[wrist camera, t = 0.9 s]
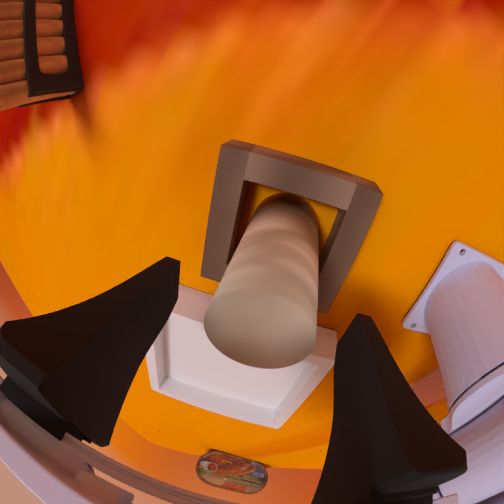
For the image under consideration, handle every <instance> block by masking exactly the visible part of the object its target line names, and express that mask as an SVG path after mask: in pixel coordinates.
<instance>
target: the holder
mask: <svg viewBox="0 0 504 504" xmlns="http://www.w3.org/2000/svg"><path fill="white" fill-rule="evenodd" d="M249 181H251V182H255V183H258V184H262V185H265V186H269V187H273V188H276V189H280V190H283V191H286V192H290V193H293V194H296V195H300V196H303V197H306V198H309V199H313V200H316V201H319V202H322V203H325V204H328V205H331V206H334V207H337V208H339V210H338V213H337V216H336V218H335V221H334V223H333V226H332V228H331V231H330V233H329V236H328V238H327V241H326V243H325V246H324V248H323V251H322V253H321V256H320V258H319V261H318V308H317V311H319V312H322V313H327V312H328V310H329V308H330V306H331V304H332V302H333V300H334V299H335V297H336V295H337V293H338V291H339V289H340V287H341V285H342V283H343V281H344V279H345V277H346V276H347V274H348V272H349V270H350V268H351V265H352V263H353V261H354V259H355V257H356V255H357V253H358V251H359V249H360V247H361V245H362V242H363V240H364V238H365V236H366V234H367V232H368V229H369V227H370V225H371V223H372V220H373V218H374V216H375V213H376V211H377V209H378V206H379V204H380V201H381V199H382V197H383V193H382V192H381V190H380V189H379V187H378V186H377V184H376V183H375V182H372V181H369V180H367V179H364V178H361V177H359V176H356V175H353V174H350V173H348V172H345V171H342V170H339V169H336V168H333V167H330V166H327V165H324V164H321V163H318V162H314V161H311V160H308V159H305V158H301V157H298V156H295V155H291V154H288V153H284V152H280V151H277V150H273V149H269V148H265V147H262V146H258V145H254V144H249V143H245V142H241V141H237V140H230V141H228V142H226V143H224V144H222V145H221V148H220V153H219V159H218V164H217V170H216V176H215V182H214V188H213V194H212V200H211V206H210V212H209V219H208V226H207V232H206V239H205V246H204V254H203V261H202V269H201V276H202V277H205V278H208V279H211V280H214V281H217V282H221V280H222V278H223V276H224V274H225V272H226V269H227V267H228V265H229V263H230V261H231V259H232V257H233V255H234V253H235V251H236V248H235V243H236V239H237V234H238V229H239V225H240V220H241V216H242V211H243V207H244V202H245V198H246V193H247V189H248V184H249Z"/></svg>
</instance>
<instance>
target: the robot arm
mask: <svg viewBox="0 0 504 504" xmlns="http://www.w3.org/2000/svg"><path fill="white" fill-rule="evenodd" d="M462 249H463V251H462V252H460V251H461V250H462ZM179 275H180V261H179V260H176V259H173V258H170V257H165V258H163V259H161V260H160V261H158V262H156V263H155V264H153V265H151V266H150V267H148V268H146V269H145V270H143V271H141V272H140V273H138V274H136V275H135V276H133V277H131V278H130V279H128V280H126V281H124V282H123V283H121V284H119V285H117V286H115V287H113V288H112V289H110V290H108V291H106V292H104V293H102V294H100V295H98V296H95V297H93V298H91V299H88V300H86V301H84V302H81V303H79V304H76V305H73V306H70V307H67V308H64V309H62V310H59V311H55V312H52V313H48V314H44V315H40V316H36V317H31V318H26V319H20V320H13V321H6V322H5V323H4V324H3V325H2V326H1V328H0V367H1V368H2V369H3V371H4V372H5V373H6V374H7V377H6V378H5V380H4V379H3V378H2V377H1V376H0V459H1V460H2V461H3V463H4V464H5V465H6V466H7V467H8V468H9V469H10V470H11V471H12V473H13V474H14V475H15V476H16V477H17V478H18V479H19V480H20V481H21V482H22V483H23V484H24V485H25V486H26V487H27V488H28V489H29V490H30V491H31V492H32V493H34V494H35V495H36V496H37V497H38V498H39V499H40V500H41V501H42V502H43V503H45V504H132V501H133V499H134V494H132V493H130V492H128V491H126V490H124V489H121V488H120V487H118V486H116V485H114V484H112V483H110V482H108V481H106V480H104V479H102V478H100V477H98V476H96V475H95V473H94V470H93V468H92V467H94V468H96V469H98V470H100V471H101V472H103V473H105V474H107V475H109V476H111V477H112V478H114V479H116V480H118V481H121V482H123V483H125V484H127V485H129V486H131V487H133V488H136V489H138V490H140V491H142V492H145V493H147V494H150V495H152V496H155V497H157V498H160V499H163V500H165V501H168V502H171V503H174V504H237V503H233V502H228V501H224V500H220V499H216V498H212V497H208V496H204V495H201V494H198V493H194V492H191V491H188V490H185V489H182V488H179V487H176V486H173V485H170V484H168V483H165V482H162V481H160V480H157V479H154V478H152V477H149V476H147V475H145V474H143V473H140V472H138V471H136V470H134V469H131V468H129V467H127V466H125V465H123V464H121V463H119V462H117V461H115V460H113V459H111V458H109V457H107V456H105V455H104V454H102V453H100V452H98V451H96V450H95V449H93V448H91V447H89V446H88V445H86V444H84V443H83V442H82V440H85V441H87V442H88V443H91V442H93V443H95V444H96V445H98V446H100V447H104V446H107V445H109V443H110V440H111V436H112V433H113V430H114V427H115V424H116V421H117V418H118V416H119V413H120V410H121V408H122V405H123V402H124V400H125V397H126V395H127V393H128V390H129V388H130V385H131V383H132V381H133V379H134V377H135V374H136V372H137V370H138V368H139V366H140V364H141V362H142V361H143V359H144V357H145V356H146V354H147V352H148V351H149V349H150V348H151V346H152V344H153V343H154V341H155V340H156V338H157V337H158V335H159V333H160V332H161V330H162V329H163V327H164V325H165V324H166V322H167V321H168V319H169V317H170V315H171V313H172V311H173V309H174V307H175V304H176V302H177V300H178V293H179ZM402 325H403V327H404V328H406V329H410V330H414V331H418V332H422V333H427V334H430V337H431V340H432V344H433V347H434V351H435V354H436V358H437V362H438V365H439V369H440V373H441V377H442V381H443V385H444V390H445V395H446V400H447V405H448V410H449V415H448V416H447V417H446V418H444V419H443V420H442V421H441V426H440V425H439V424H438V423H437V422H436V421H435V420H434V418H433V417H432V416H431V415H430V414H429V412H428V411H427V410H426V409H425V407H424V406H423V405H422V403H421V402H420V401H419V399H418V398H417V396H416V395H415V393H414V392H413V390H412V389H411V387H410V386H409V384H408V383H407V381H406V379H405V378H404V376H403V374H402V373H401V371H400V369H399V367H398V366H397V364H396V362H395V360H394V359H393V357H392V355H391V353H390V351H389V349H388V347H387V345H386V344H385V342H384V340H383V338H382V336H381V334H380V332H379V330H378V328H377V327H376V325H375V323H374V321H373V320H372V318H371V316H367V315H363V314H359V313H357V315H356V316H355V318H354V319H353V321H352V323H351V324H350V326H349V327H348V329H347V330H346V332H345V333H344V335H343V336H342V338H341V339H340V341H339V342H338V344H337V346H336V354H335V362H334V409H333V423H332V430H331V436H330V441H329V446H328V451H327V455H326V460H325V464H324V467H323V471H322V474H321V478H320V481H319V484H318V487H317V490H316V493H315V495H314V498H313V500H312V503H311V504H504V264H503V263H501V262H499V261H497V260H496V259H494V258H492V257H490V256H488V255H486V254H484V253H482V252H480V251H478V250H476V249H474V248H472V247H470V246H468V245H466V244H464V243H462V242H460V241H455V242H453V243H452V245H451V246H450V248H449V250H448V251H447V253H446V255H445V257H444V258H443V260H442V262H441V264H440V265H439V267H438V269H437V270H436V272H435V274H434V275H433V277H432V278H431V280H430V282H429V283H428V285H427V286H426V288H425V289H424V291H423V292H422V294H421V295H420V297H419V298H418V300H417V301H416V303H415V304H414V306H413V307H412V308H411V310H410V311H409V313H408V314H407V315H406V317H405V318H404V320H403V321H402ZM90 465H91V466H90Z"/></svg>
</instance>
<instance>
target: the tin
mask: <svg viewBox="0 0 504 504" xmlns="http://www.w3.org/2000/svg"><path fill="white" fill-rule="evenodd" d="M196 472H197V475H198V477H199V478H200V479H201V480H202V481H203V482H204V483H206V484H208V485H211V486H215V487H218V488H223V489H226V490H231V491H235V492H239V493H243V494H254V493H257V492H259V491H261V490H262V489H263V488H264V487H265V485H266V483H267V480H268V475H267V471H266V469H265V468H264V466H263V465H262V464H260V463H259V462H257V461H254V460H250V459H246V458H242V457H239V456H235V455H232V454H228V453H225V452H222V451H211V452H208V453H206V454H204V455H203V456H201V457H200V458H199V460H198V461H197V464H196Z"/></svg>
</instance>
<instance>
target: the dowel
mask: <svg viewBox="0 0 504 504" xmlns="http://www.w3.org/2000/svg"><path fill="white" fill-rule="evenodd" d="M318 261H319V241H318V218H317V214H316V212H315V210H314V208H313V207H312V206H311V205H310V203H308V202H307V201H306V200H305V199H303V198H302V197H300V196H297V195H295V194H290V193H279V194H274V195H271V196H269V197H267V198H266V199H264V200H263V201H262V202H261V203H260V204H259V206H258V207H257V209H256V211H255V213H254V215H253V217H252V219H251V221H250V223H249V225H248V227H247V229H246V231H245V233H244V235H243V237H242V239H241V241H240V243H239V245H238V247H237V249H236V251H235V253H234V255H233V257H232V259H231V261H230V263H229V265H228V267H227V269H226V272H225V274H224V276H223V278H222V280H221V282H220V284H219V286H218V288H217V290H216V292H215V294H214V296H213V298H212V300H211V302H210V305H209V307H208V309H207V311H206V313H205V316H204V329H205V333H206V335H207V337H208V339H209V340H210V342H211V343H212V344H213V345H214V347H215V348H216V349H218V350H219V351H220V352H221V353H222V354H224V355H225V356H227V357H228V358H230V359H232V360H234V361H236V362H238V363H241V364H244V365H247V366H251V367H255V368H263V369H278V368H284V367H288V366H292V365H294V364H297V363H299V362H301V361H302V360H304V359H305V358H306V357H307V356H308V355H309V354H310V353H311V352H312V350H313V348H314V346H315V343H316V331H317V308H318Z"/></svg>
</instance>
